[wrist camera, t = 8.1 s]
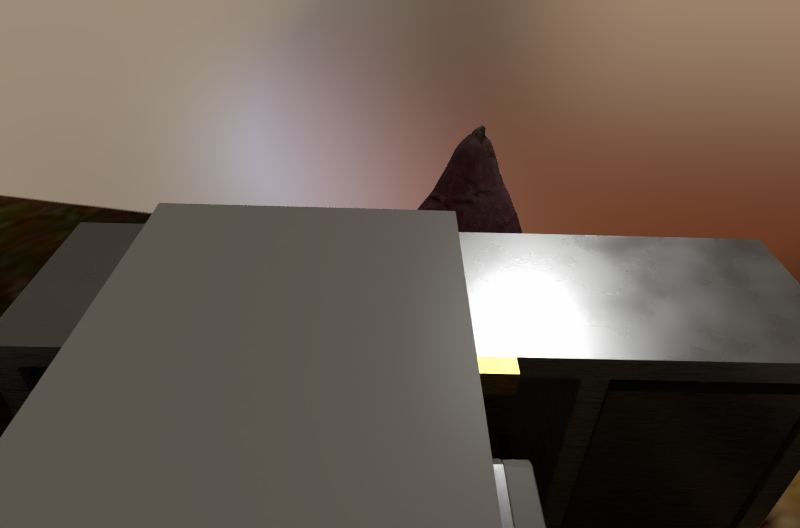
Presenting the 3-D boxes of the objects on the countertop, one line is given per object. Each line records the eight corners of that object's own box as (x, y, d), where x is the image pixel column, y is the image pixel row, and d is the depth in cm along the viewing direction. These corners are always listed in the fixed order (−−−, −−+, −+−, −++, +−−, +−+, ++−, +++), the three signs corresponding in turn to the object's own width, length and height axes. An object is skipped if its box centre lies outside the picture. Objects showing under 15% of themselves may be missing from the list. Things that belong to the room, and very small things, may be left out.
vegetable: (416, 299, 49) (422, 112, 44) (541, 326, 44) (564, 121, 39) (350, 352, 40) (349, 124, 35) (498, 391, 35) (521, 138, 30)
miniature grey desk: (77, 564, 27) (-38, 362, 19) (144, 413, 34) (80, 222, 27) (745, 575, 27) (888, 382, 20) (674, 424, 35) (759, 239, 27)
